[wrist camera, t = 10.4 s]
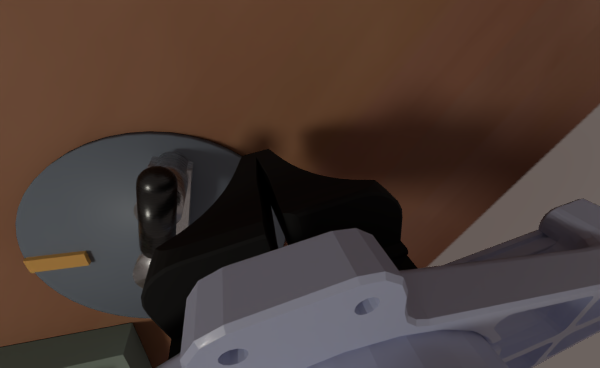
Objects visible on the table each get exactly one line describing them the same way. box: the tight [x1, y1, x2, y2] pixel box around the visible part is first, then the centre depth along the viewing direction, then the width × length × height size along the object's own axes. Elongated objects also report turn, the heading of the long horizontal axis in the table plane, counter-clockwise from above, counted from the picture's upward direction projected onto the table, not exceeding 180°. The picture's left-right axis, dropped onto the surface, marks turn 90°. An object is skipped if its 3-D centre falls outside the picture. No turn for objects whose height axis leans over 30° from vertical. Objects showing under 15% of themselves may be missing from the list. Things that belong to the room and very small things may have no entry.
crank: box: [133, 152, 193, 289], centre depth 13 cm, size 10×4×5 cm, turn 165°
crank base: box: [16, 132, 285, 318], centre depth 18 cm, size 16×16×1 cm
